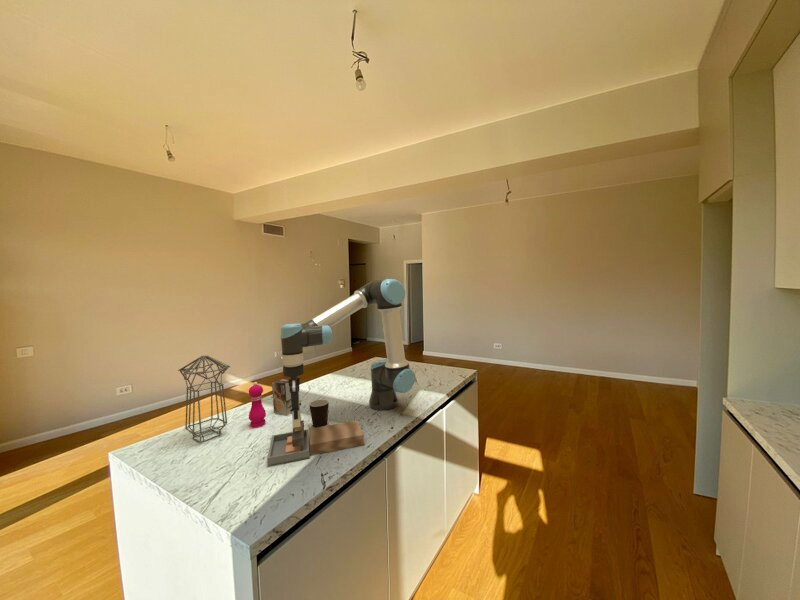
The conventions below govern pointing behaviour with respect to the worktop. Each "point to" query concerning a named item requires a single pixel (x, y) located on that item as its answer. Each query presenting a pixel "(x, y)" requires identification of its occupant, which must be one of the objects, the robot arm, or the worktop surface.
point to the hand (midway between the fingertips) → (296, 424)
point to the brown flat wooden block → (335, 437)
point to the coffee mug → (319, 412)
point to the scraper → (298, 433)
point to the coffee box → (281, 397)
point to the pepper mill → (256, 406)
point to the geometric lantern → (202, 390)
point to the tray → (279, 449)
